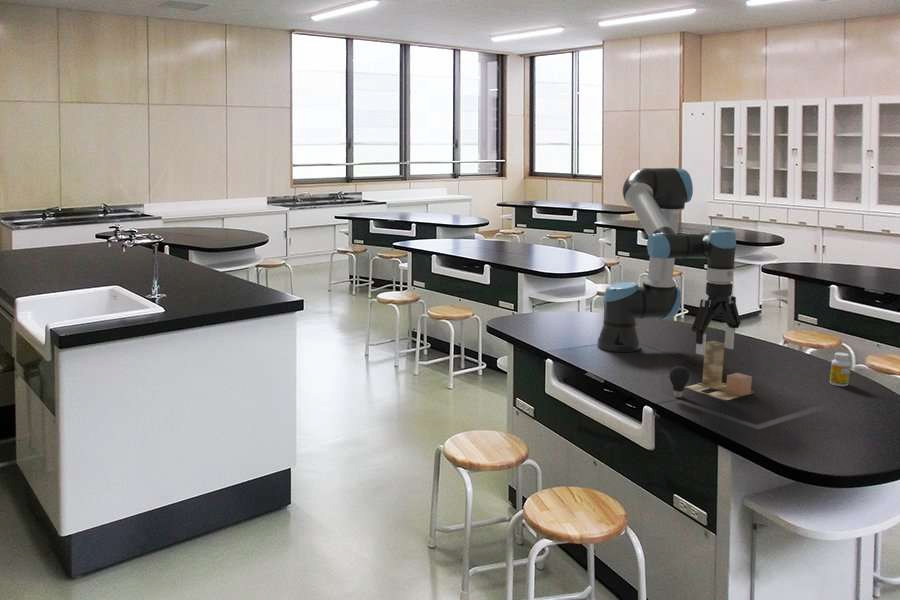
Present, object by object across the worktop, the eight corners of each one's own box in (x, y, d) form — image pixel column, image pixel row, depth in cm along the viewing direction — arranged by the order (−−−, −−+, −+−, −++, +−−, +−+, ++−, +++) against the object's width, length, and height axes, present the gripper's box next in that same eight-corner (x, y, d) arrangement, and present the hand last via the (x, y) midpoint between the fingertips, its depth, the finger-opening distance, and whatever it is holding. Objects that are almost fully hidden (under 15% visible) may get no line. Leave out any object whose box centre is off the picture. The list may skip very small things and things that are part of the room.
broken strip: (685, 390, 249) (685, 386, 249) (696, 387, 252) (696, 384, 251) (727, 403, 237) (727, 399, 237) (738, 400, 240) (738, 397, 239)
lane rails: (683, 390, 248) (683, 386, 248) (712, 383, 256) (712, 379, 256) (725, 403, 236) (725, 399, 236) (754, 395, 244) (754, 391, 244)
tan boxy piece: (699, 386, 252) (702, 342, 250) (709, 383, 255) (713, 340, 253) (741, 399, 240) (745, 353, 238) (751, 396, 243) (755, 350, 241)
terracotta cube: (725, 391, 245) (727, 375, 244) (736, 388, 247) (737, 372, 246) (740, 395, 241) (741, 379, 240) (750, 392, 243) (752, 376, 242)
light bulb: (671, 394, 244) (674, 362, 242) (690, 398, 241) (692, 365, 239) (665, 399, 239) (667, 366, 237) (684, 403, 236) (686, 369, 234)
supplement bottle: (825, 381, 259) (829, 351, 257) (842, 381, 260) (845, 351, 258) (835, 386, 254) (838, 356, 252) (851, 386, 254) (855, 356, 252)
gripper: (703, 287, 235) (698, 359, 239) (755, 280, 249) (750, 348, 253) (682, 283, 241) (677, 354, 245) (734, 277, 256) (729, 343, 259)
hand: (714, 351), depth 249 cm, fingers open, 13 cm apart
